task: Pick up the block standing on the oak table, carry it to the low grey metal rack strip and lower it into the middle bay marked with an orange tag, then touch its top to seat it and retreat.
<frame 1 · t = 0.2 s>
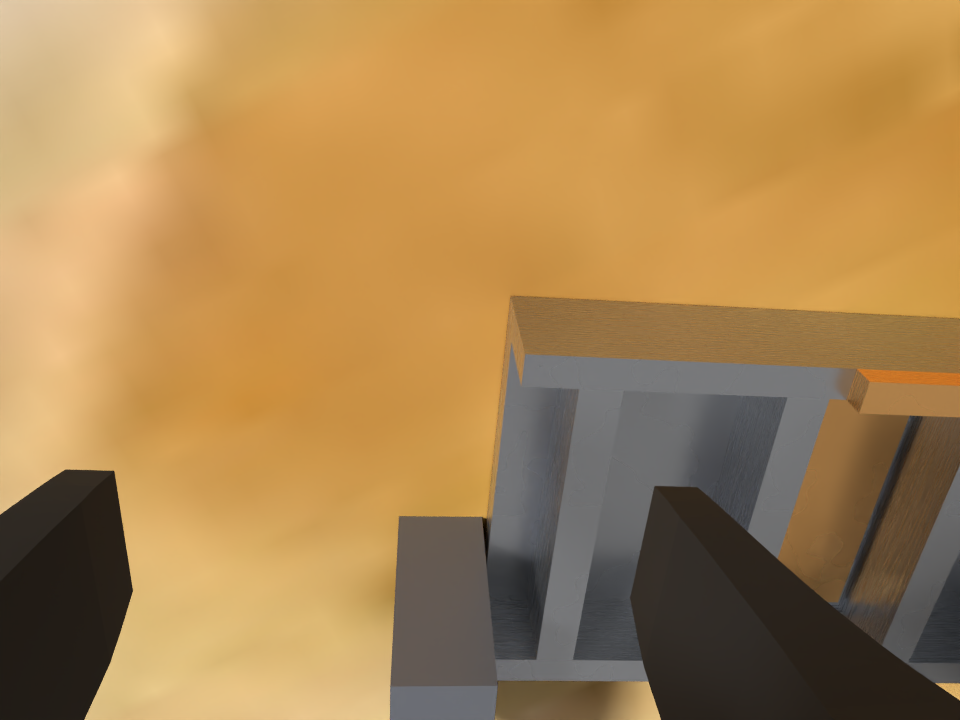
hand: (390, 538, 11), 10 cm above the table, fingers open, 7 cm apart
block: (436, 605, 25), on the table
rack: (801, 470, 23), on the table
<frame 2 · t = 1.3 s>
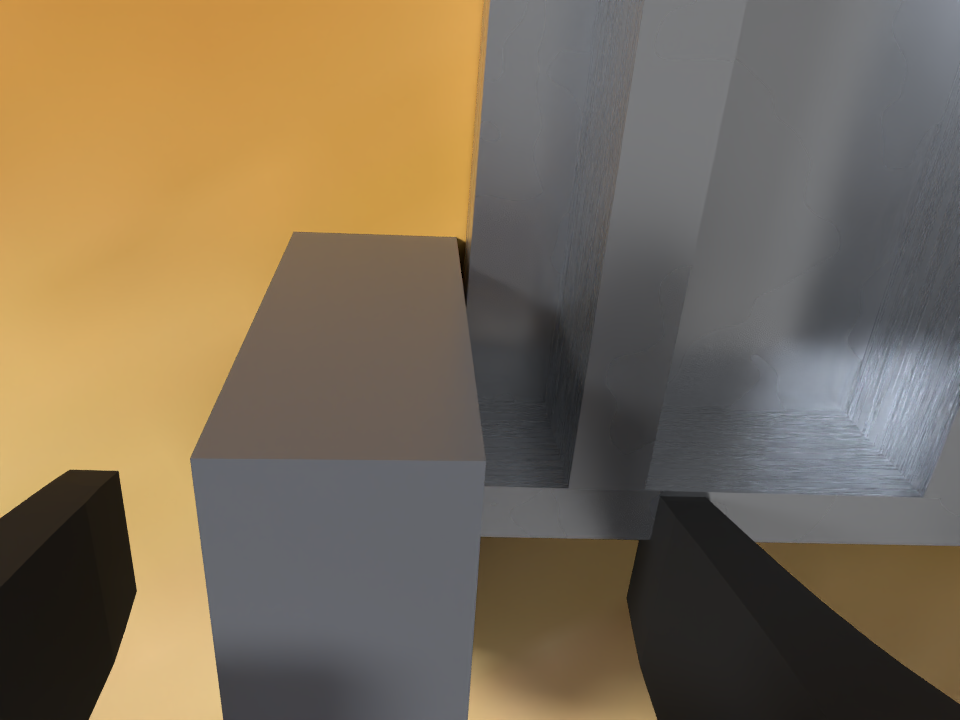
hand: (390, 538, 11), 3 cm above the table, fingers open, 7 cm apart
block: (376, 433, 13), on the table
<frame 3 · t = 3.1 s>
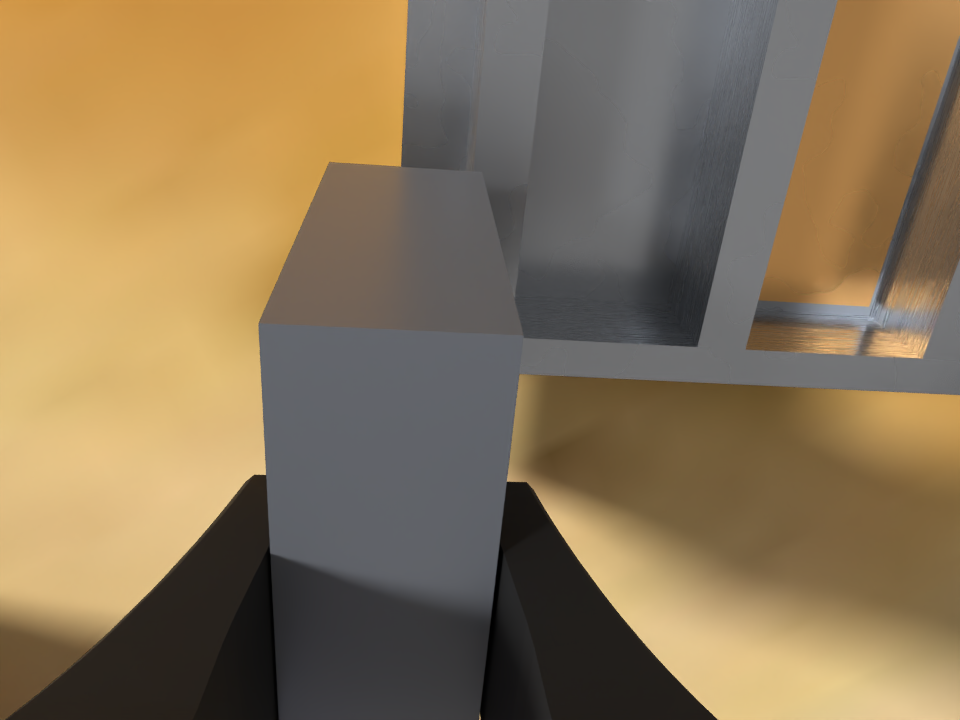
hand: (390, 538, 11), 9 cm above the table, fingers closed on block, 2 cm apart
block: (398, 363, 14), point 5 cm above the table, touching gripper
rack: (822, 115, 17), on the table
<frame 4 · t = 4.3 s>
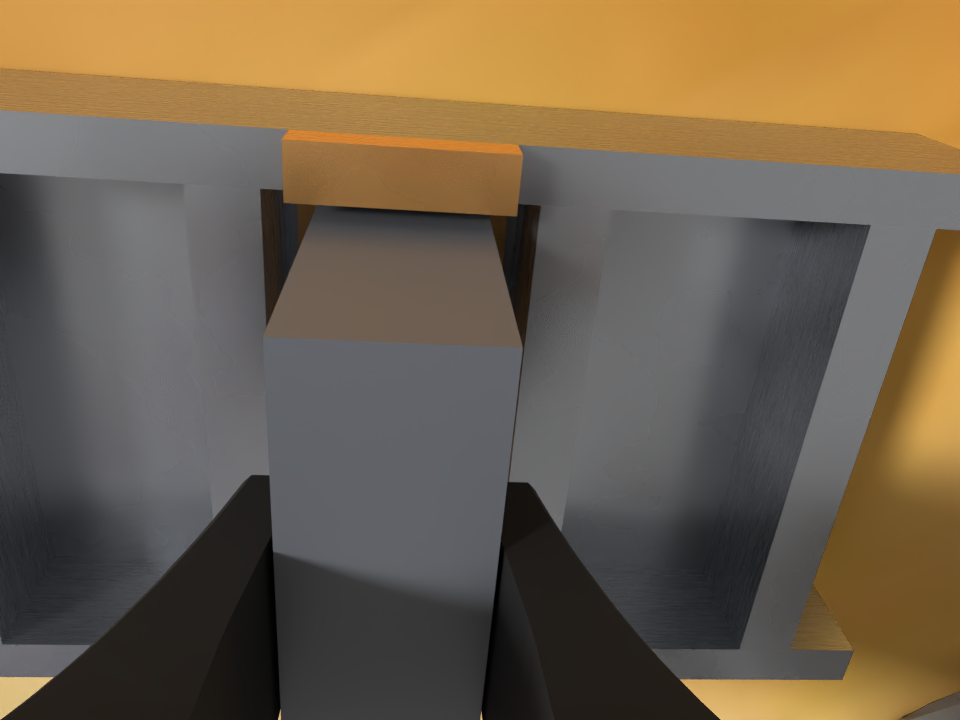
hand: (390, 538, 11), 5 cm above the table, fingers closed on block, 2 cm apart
block: (398, 372, 14), point 1 cm above the table, touching gripper, rack
rack: (398, 363, 16), on the table
when the fingers open (4 cm above the table, at t = 4.8 s): block stays where it is, resting on rack.
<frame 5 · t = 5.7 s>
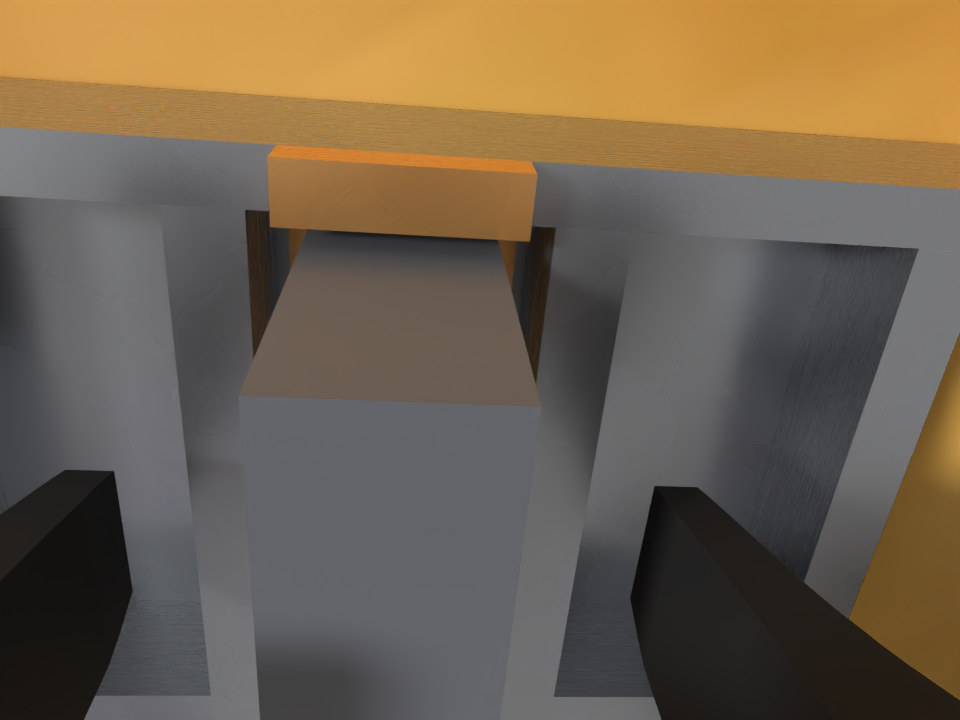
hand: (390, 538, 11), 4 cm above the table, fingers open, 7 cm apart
block: (398, 401, 13), point 1 cm above the table, touching rack
rack: (398, 389, 15), on the table
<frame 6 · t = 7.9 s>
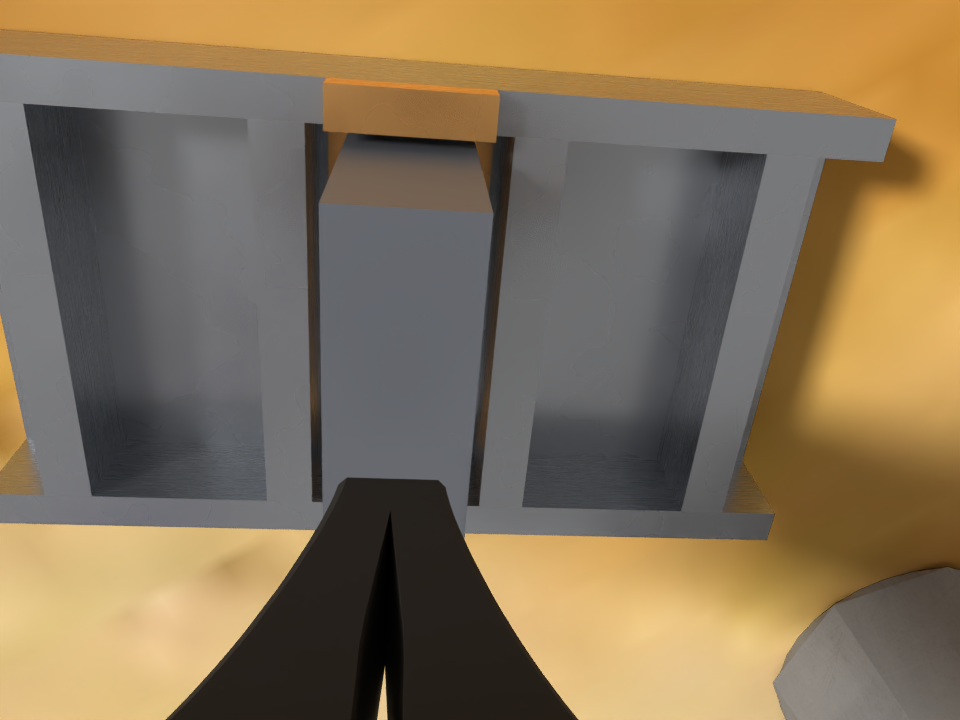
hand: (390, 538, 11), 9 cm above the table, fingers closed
coffeepot: (870, 664, 27), on the table
block: (406, 282, 18), point 1 cm above the table, touching rack
rack: (406, 280, 19), on the table
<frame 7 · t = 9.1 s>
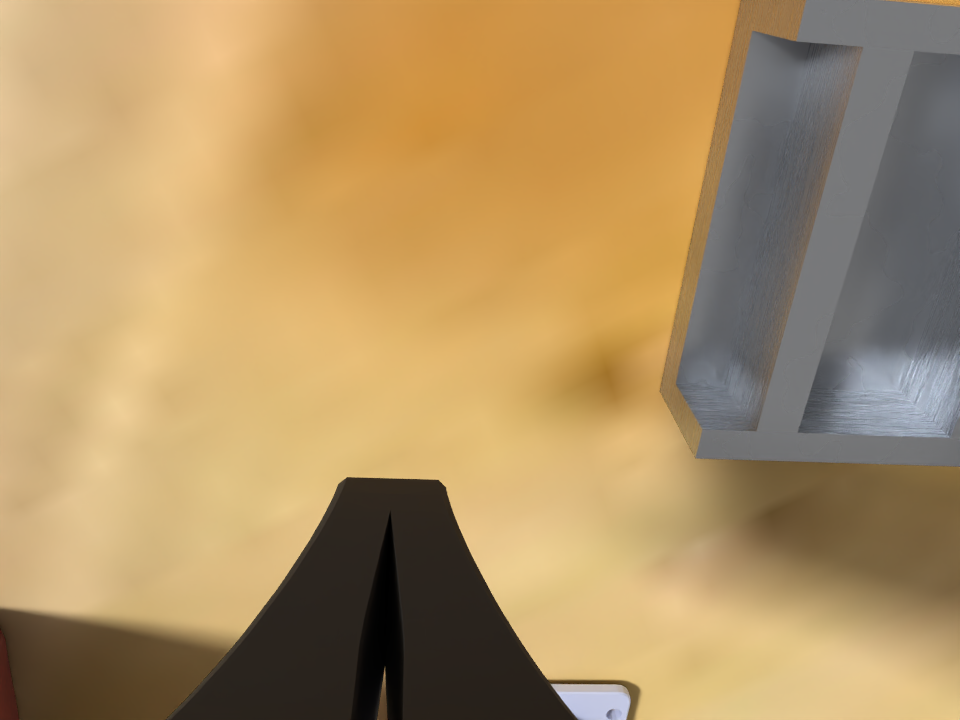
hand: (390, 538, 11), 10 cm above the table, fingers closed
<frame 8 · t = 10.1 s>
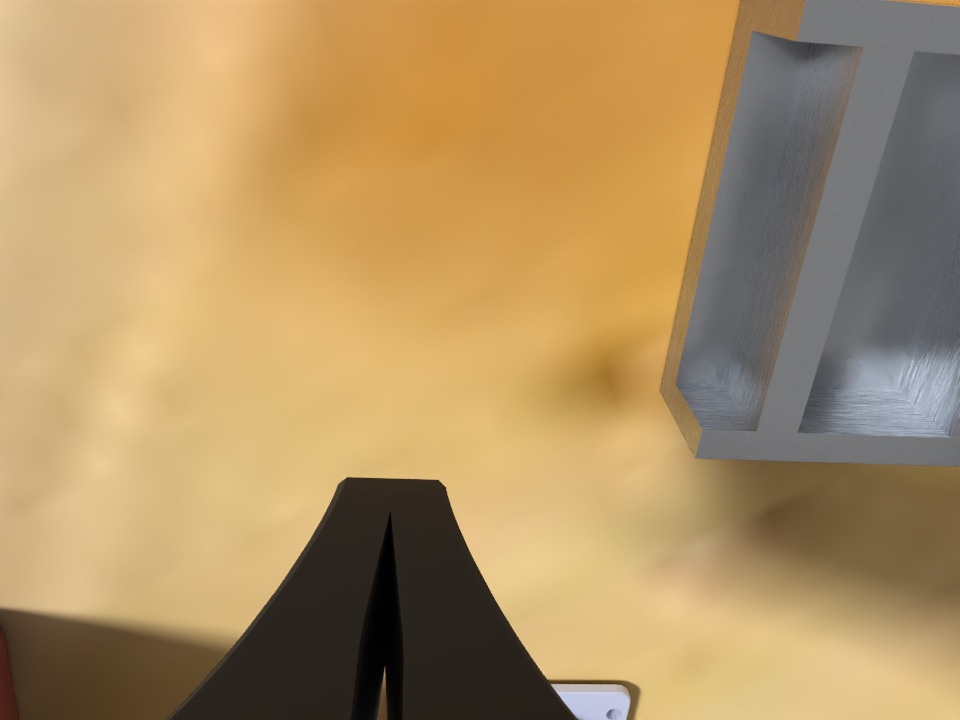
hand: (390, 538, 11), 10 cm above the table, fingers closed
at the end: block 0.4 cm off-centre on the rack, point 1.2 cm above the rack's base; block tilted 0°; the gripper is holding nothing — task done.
